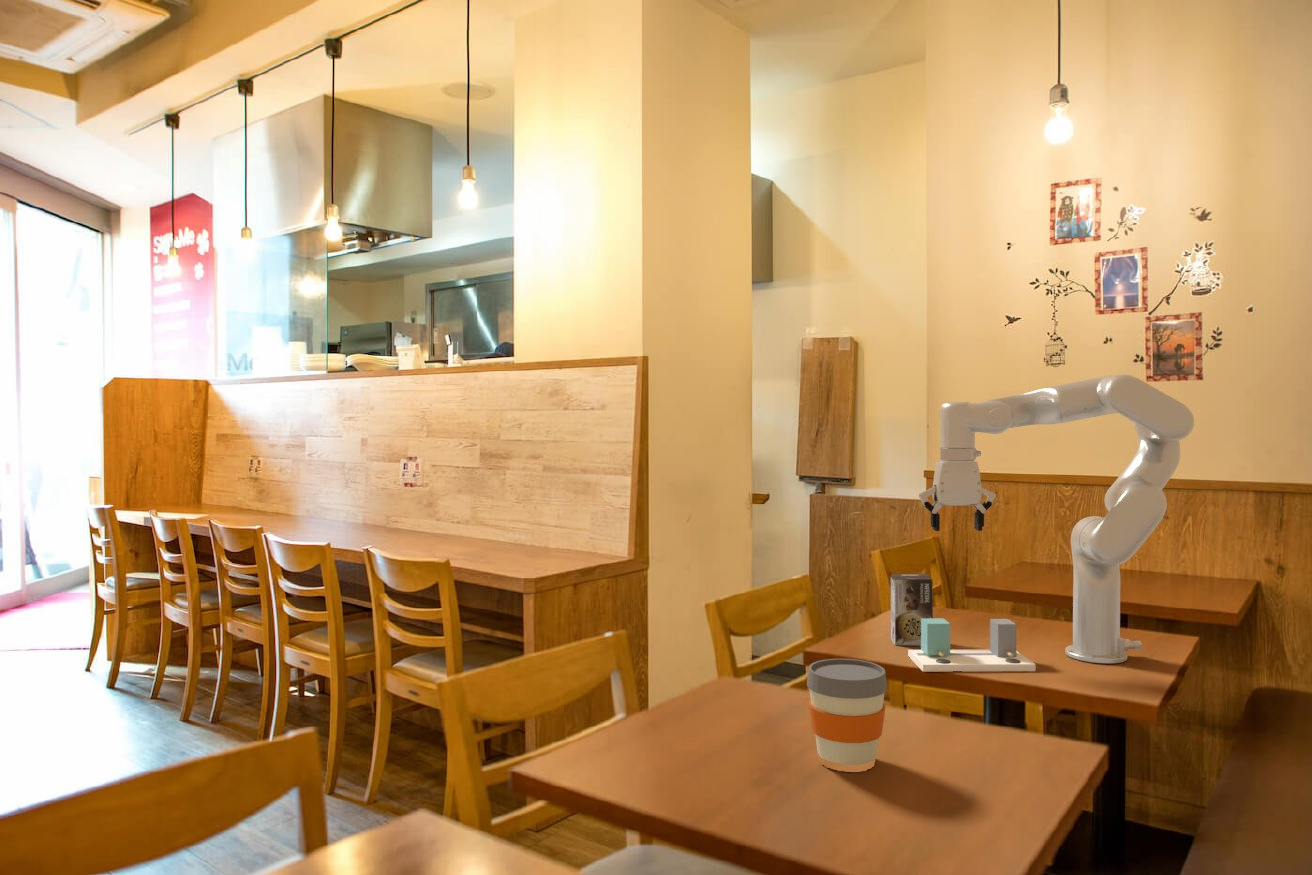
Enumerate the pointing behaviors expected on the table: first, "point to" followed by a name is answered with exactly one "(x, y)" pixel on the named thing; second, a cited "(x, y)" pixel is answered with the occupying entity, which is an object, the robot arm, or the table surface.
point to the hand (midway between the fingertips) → (957, 530)
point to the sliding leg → (935, 636)
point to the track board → (980, 654)
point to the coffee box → (910, 607)
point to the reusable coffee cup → (847, 709)
